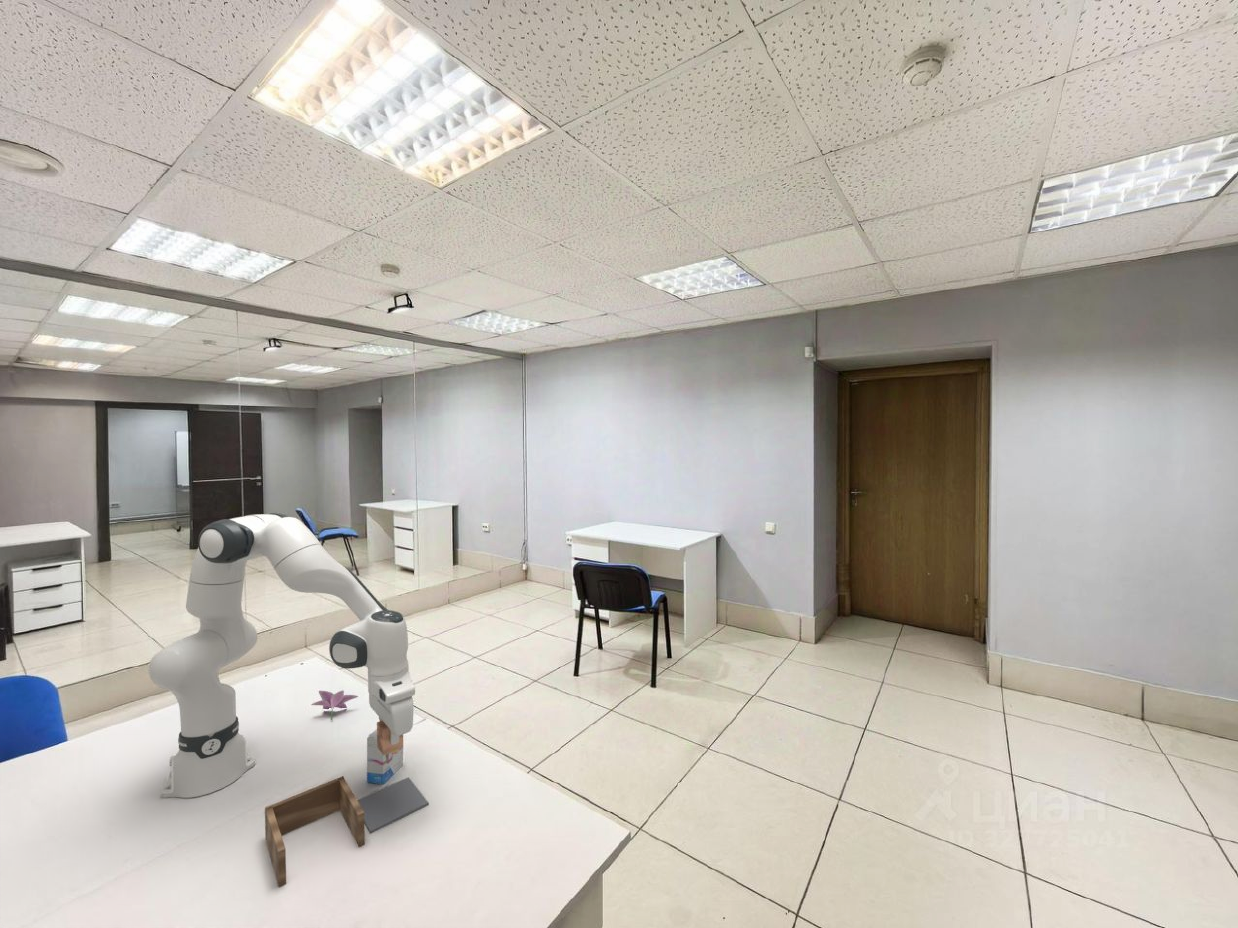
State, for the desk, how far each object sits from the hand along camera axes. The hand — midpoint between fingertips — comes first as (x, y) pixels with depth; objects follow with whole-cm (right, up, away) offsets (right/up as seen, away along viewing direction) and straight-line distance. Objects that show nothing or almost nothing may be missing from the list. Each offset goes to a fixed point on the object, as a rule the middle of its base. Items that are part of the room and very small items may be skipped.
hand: (390, 737), depth 118 cm
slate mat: (0, -16, 0) cm, 16 cm away
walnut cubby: (-11, -16, -11) cm, 23 cm away
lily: (-37, -16, +41) cm, 58 cm away
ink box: (-7, -16, +12) cm, 21 cm away
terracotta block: (0, -2, 0) cm, 2 cm away
